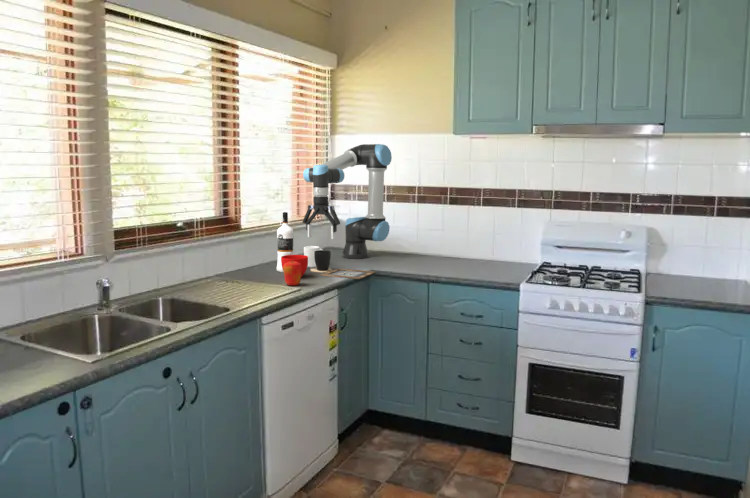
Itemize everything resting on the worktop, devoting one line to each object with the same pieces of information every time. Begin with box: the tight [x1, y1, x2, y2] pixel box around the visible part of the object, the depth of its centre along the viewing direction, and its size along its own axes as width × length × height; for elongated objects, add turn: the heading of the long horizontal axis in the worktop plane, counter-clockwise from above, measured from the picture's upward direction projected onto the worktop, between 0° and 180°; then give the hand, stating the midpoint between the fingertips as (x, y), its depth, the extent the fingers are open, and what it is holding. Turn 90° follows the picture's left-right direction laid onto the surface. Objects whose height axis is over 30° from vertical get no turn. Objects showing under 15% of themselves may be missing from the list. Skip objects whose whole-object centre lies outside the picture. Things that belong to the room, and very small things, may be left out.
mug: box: [314, 249, 332, 271], centre depth 319 cm, size 8×12×10 cm
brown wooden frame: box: [320, 267, 376, 280], centre depth 311 cm, size 19×21×1 cm
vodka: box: [276, 211, 295, 273], centre depth 315 cm, size 9×9×30 cm
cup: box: [303, 245, 324, 268], centre depth 334 cm, size 8×12×10 cm
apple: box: [283, 259, 302, 286], centre depth 283 cm, size 9×8×12 cm
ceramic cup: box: [281, 254, 308, 278], centre depth 303 cm, size 13×17×10 cm
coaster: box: [309, 267, 333, 274], centre depth 320 cm, size 11×11×1 cm
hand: (321, 237), depth 317 cm, fingers open, 13 cm apart
